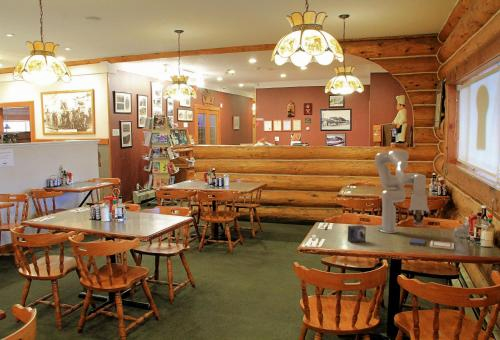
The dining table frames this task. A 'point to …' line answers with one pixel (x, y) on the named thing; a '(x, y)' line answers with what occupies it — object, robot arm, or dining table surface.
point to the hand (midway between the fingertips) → (418, 220)
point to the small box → (356, 234)
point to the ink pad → (417, 242)
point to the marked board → (442, 245)
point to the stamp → (418, 219)
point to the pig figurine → (462, 230)
